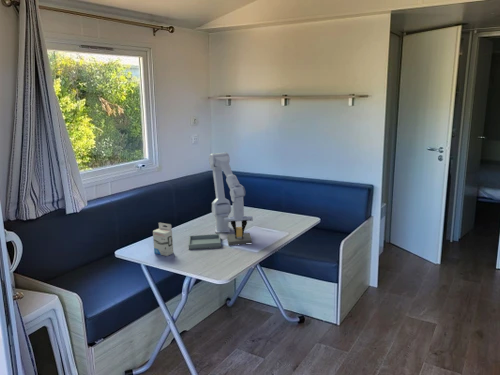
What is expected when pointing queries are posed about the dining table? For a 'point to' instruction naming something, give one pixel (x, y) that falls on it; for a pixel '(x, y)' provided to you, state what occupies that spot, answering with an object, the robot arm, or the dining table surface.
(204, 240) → the parts tray
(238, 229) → the block
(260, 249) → the dining table surface
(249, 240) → the fuse holder
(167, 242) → the ink box
